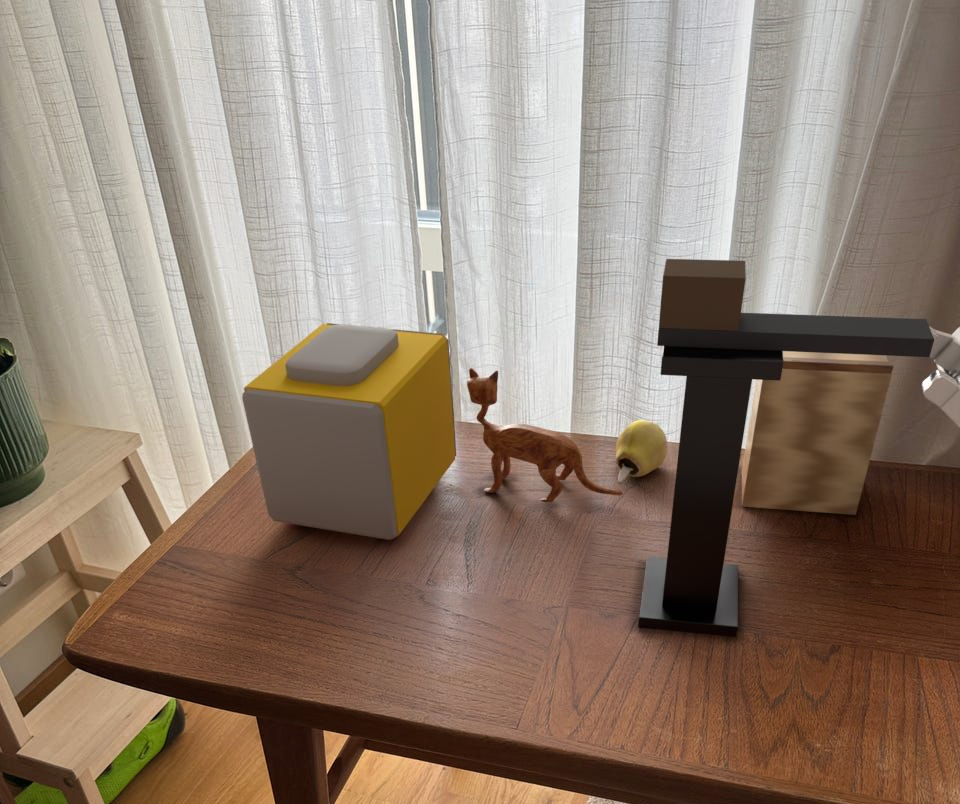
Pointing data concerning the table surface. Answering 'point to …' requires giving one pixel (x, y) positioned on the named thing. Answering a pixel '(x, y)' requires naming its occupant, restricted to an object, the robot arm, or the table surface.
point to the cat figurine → (527, 444)
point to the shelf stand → (704, 491)
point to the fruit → (640, 449)
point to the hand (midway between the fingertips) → (919, 354)
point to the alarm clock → (353, 428)
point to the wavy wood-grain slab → (814, 432)
